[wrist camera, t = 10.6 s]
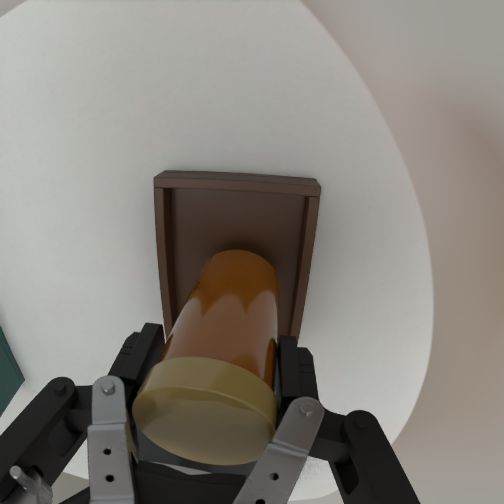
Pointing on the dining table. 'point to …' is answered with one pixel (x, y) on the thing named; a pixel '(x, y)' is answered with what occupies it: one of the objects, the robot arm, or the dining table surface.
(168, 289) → the tray
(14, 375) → the cabinet
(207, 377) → the honey jar
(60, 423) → the robot arm
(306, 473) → the dining table surface
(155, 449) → the planter
